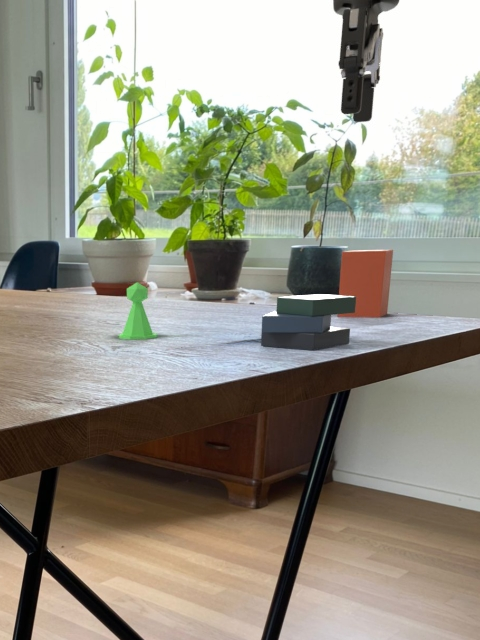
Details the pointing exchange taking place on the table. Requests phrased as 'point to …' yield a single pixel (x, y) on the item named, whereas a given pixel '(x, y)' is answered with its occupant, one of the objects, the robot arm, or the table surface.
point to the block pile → (307, 322)
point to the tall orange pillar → (366, 281)
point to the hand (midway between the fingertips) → (356, 117)
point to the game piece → (137, 315)
